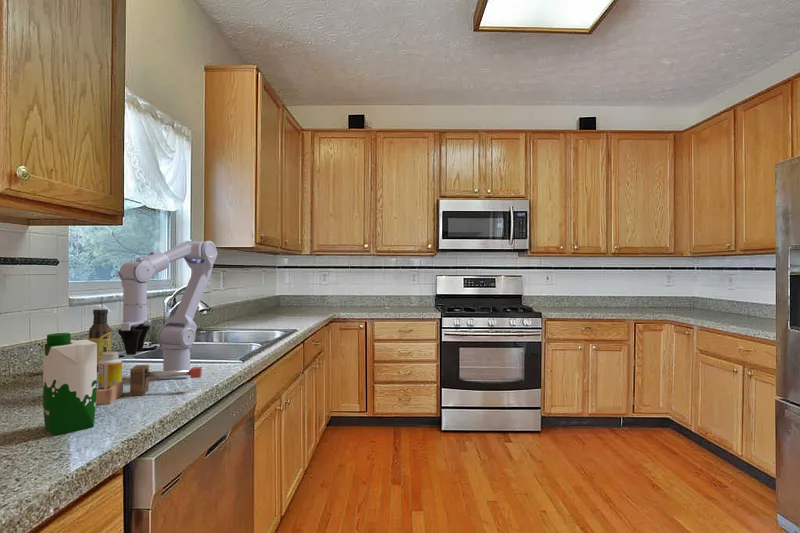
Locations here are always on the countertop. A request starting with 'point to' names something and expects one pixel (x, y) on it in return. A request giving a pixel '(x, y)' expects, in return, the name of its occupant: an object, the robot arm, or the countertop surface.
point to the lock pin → (177, 373)
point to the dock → (109, 394)
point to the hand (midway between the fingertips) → (134, 352)
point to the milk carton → (69, 383)
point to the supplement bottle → (109, 370)
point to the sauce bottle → (100, 333)
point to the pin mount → (139, 380)
